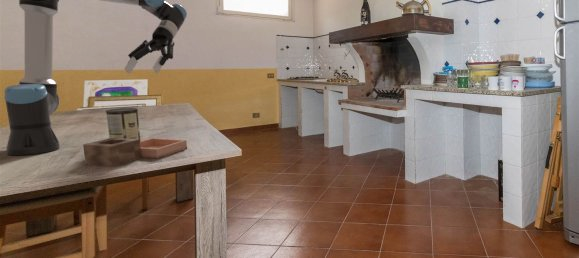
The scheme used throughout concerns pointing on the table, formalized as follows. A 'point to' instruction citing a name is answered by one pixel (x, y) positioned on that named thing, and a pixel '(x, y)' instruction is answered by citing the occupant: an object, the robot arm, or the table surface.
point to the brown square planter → (112, 151)
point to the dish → (161, 147)
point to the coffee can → (123, 123)
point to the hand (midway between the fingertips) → (140, 70)
